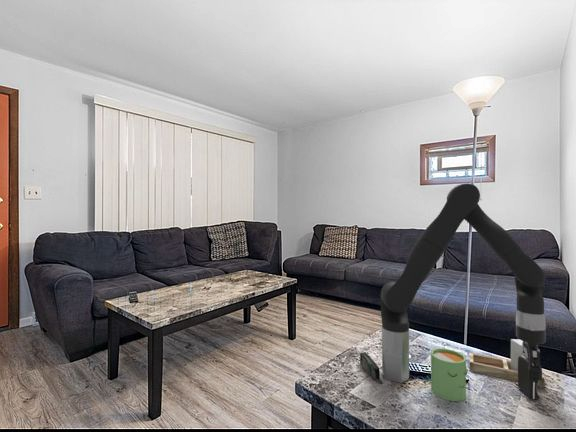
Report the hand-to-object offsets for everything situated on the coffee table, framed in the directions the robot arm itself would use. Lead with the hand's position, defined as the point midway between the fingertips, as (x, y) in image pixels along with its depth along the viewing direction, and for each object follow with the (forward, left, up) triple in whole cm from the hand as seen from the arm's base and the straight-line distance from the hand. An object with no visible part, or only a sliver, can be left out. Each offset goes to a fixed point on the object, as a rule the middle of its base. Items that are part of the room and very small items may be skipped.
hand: (531, 375), depth 98 cm
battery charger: (0, 0, -6) cm, 6 cm away
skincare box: (+12, +1, -6) cm, 13 cm away
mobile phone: (-13, +48, -7) cm, 51 cm away
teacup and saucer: (+10, +40, -7) cm, 42 cm away
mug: (-11, +22, -6) cm, 26 cm away
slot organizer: (+12, +6, -6) cm, 15 cm away
